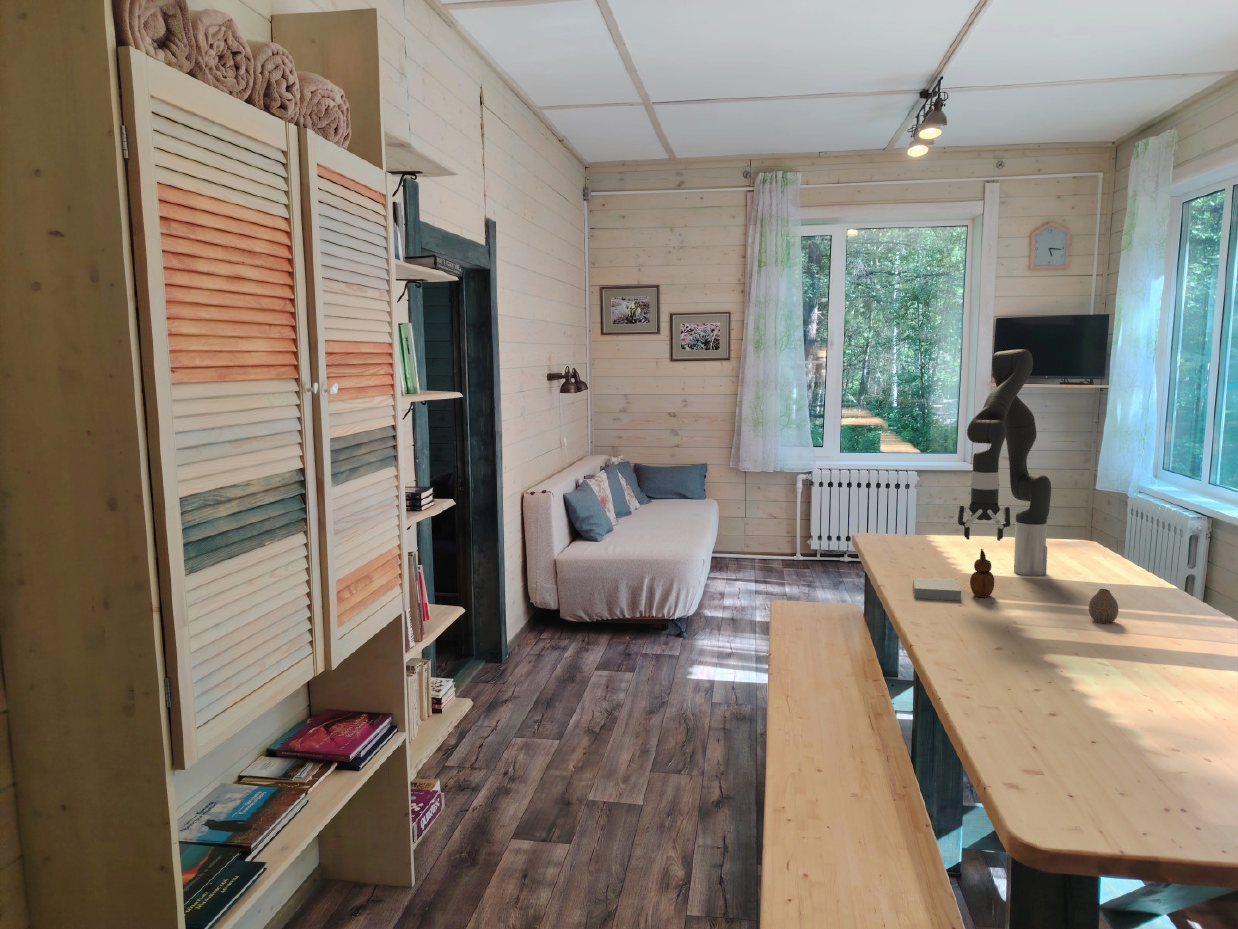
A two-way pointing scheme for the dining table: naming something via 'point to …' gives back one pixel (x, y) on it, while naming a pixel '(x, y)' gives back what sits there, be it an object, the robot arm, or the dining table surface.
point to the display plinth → (936, 588)
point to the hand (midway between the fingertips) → (983, 539)
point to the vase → (1103, 607)
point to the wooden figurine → (982, 577)
